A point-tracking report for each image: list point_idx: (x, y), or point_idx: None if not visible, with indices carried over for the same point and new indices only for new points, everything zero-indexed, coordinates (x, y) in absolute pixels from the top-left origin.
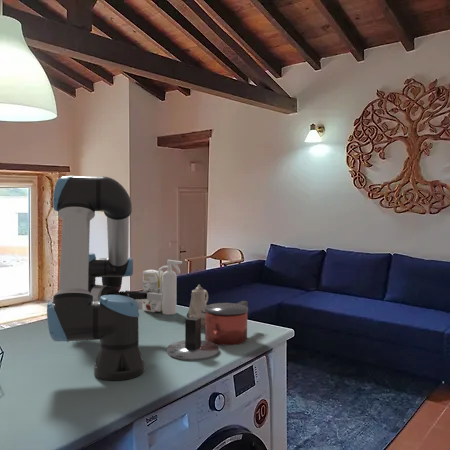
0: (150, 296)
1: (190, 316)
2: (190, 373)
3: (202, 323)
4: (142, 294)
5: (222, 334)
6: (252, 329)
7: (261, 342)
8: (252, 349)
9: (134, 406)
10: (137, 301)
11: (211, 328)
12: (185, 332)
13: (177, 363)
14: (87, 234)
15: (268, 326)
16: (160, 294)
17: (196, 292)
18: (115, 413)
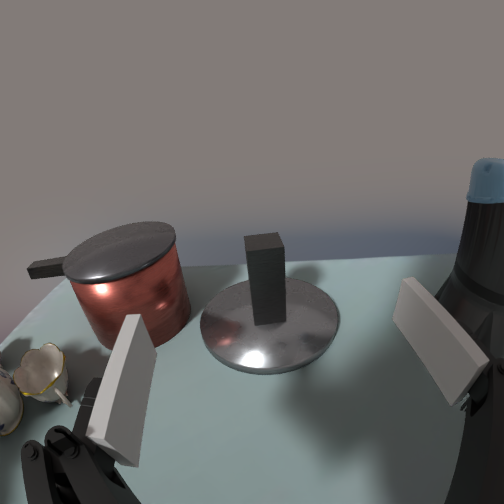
0: (128, 420)
1: (38, 394)
2: (365, 269)
3: (66, 369)
4: (121, 496)
5: (184, 282)
6: (71, 304)
7: None
8: (194, 266)
9: None
10: (428, 292)
11: (176, 291)
12: (285, 283)
13: (353, 301)
14: None
15: (55, 293)
16: (138, 321)
17: None
18: None
